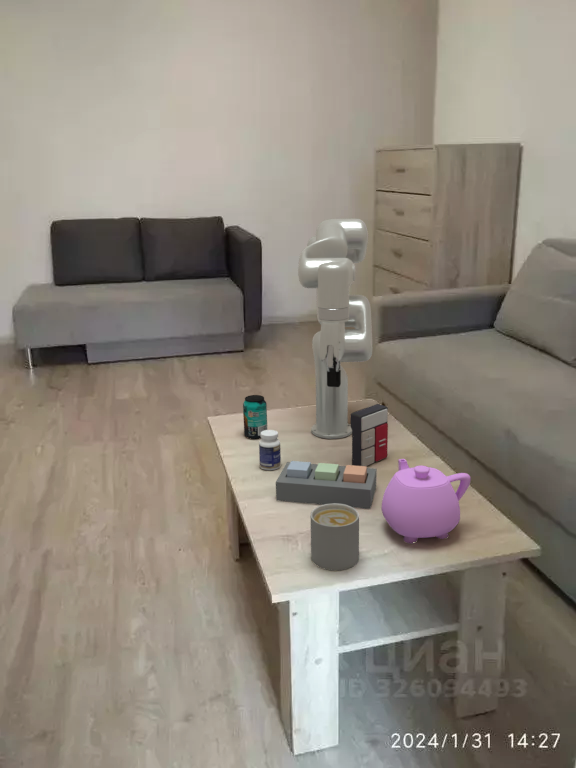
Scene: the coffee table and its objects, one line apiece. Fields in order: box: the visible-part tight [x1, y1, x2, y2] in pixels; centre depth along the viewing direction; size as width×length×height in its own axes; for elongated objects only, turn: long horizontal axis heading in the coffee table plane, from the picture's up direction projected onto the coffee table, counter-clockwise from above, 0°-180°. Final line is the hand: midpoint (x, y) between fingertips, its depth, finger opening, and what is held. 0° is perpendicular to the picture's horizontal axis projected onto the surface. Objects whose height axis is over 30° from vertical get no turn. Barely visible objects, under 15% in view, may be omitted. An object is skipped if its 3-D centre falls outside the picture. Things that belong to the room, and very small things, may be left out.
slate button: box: [287, 460, 312, 479], centre depth 176 cm, size 5×5×5 cm
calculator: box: [350, 403, 389, 467], centre depth 191 cm, size 11×4×15 cm, turn 131°
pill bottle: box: [258, 429, 282, 471], centre depth 190 cm, size 6×6×10 cm
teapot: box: [380, 458, 472, 544], centre depth 158 cm, size 20×20×15 cm
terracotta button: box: [343, 464, 368, 484], centre depth 173 cm, size 5×5×5 cm
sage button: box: [315, 462, 340, 481], centre depth 174 cm, size 5×5×5 cm
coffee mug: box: [310, 503, 360, 571], centre depth 148 cm, size 13×10×10 cm
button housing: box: [275, 461, 377, 510], centre depth 175 cm, size 12×23×5 cm, turn 77°
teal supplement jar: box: [242, 394, 268, 440], centre depth 212 cm, size 7×7×12 cm
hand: (333, 385), depth 177 cm, fingers closed
